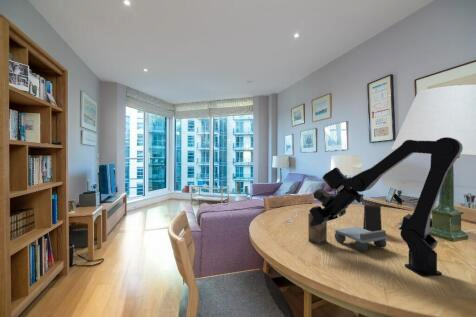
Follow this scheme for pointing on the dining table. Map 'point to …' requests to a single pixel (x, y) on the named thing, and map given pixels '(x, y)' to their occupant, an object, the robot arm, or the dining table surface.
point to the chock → (317, 231)
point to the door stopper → (372, 218)
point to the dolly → (362, 237)
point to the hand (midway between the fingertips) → (314, 223)
